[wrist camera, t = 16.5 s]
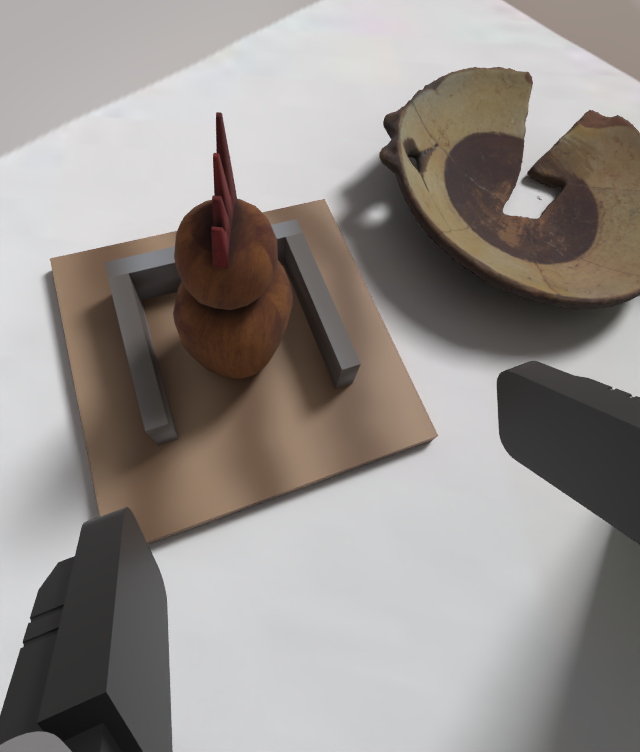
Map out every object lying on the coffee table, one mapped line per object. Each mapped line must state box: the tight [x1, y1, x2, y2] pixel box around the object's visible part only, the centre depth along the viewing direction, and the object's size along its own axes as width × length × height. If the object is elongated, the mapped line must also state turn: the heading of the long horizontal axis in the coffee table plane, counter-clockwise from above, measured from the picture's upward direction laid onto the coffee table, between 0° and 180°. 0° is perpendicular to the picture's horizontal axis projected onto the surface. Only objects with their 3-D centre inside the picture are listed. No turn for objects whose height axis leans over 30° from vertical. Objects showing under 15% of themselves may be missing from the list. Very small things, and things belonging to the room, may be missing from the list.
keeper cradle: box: [50, 199, 438, 544], centre depth 29 cm, size 20×20×4 cm
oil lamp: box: [379, 67, 640, 309], centre depth 34 cm, size 22×30×8 cm
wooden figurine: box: [173, 112, 293, 379], centre depth 23 cm, size 7×6×15 cm
